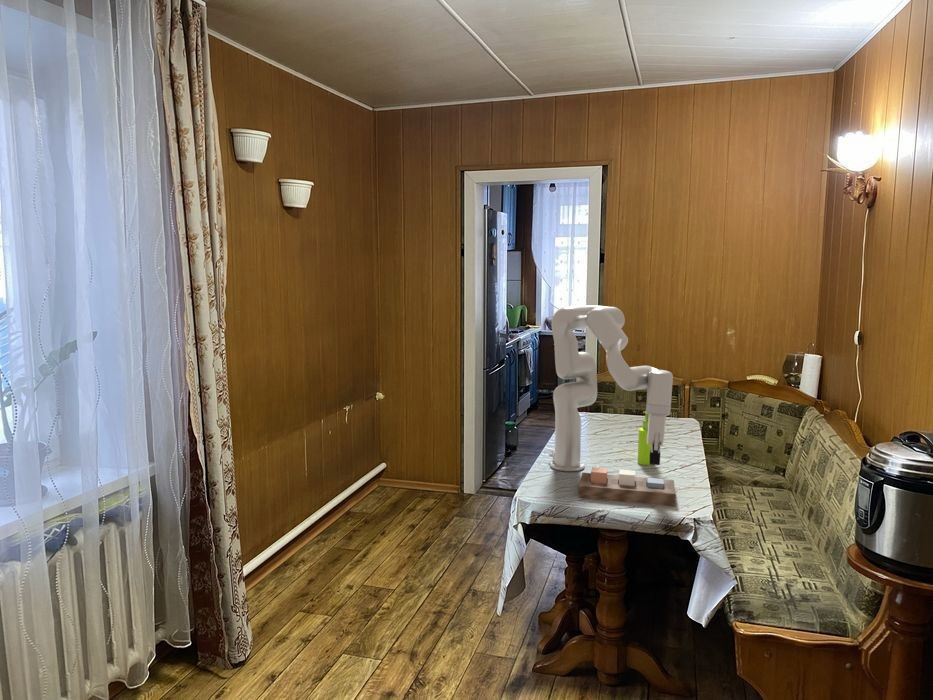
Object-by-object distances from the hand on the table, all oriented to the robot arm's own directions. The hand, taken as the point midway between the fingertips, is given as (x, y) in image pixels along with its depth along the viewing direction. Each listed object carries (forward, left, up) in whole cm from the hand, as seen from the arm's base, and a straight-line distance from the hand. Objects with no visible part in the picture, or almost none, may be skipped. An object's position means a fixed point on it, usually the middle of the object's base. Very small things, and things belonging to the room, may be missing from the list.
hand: (654, 463), depth 216 cm
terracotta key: (-13, -12, -8) cm, 19 cm away
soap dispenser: (-25, +27, -11) cm, 39 cm away
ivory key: (-6, -6, -8) cm, 11 cm away
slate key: (+1, 0, -10) cm, 10 cm away
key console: (-6, -6, -11) cm, 14 cm away
